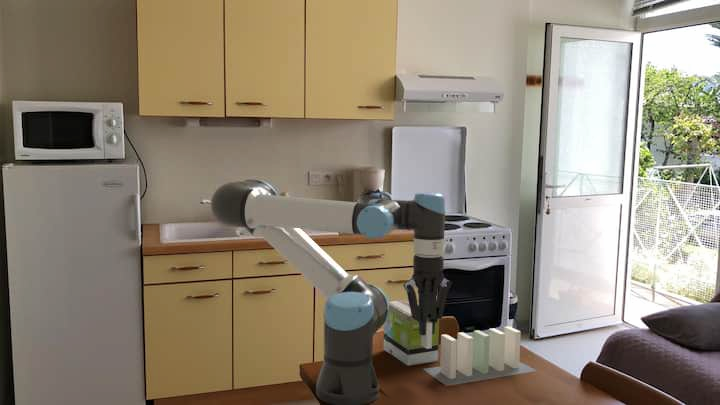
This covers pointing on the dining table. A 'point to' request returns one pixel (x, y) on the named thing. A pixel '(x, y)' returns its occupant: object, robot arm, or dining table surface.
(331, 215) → the robot arm
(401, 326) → the tea box
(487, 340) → the sage domino
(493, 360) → the domino
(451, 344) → the domino
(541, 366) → the dining table surface
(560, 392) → the dining table surface
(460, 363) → the domino
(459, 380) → the slate mat
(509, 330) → the domino
